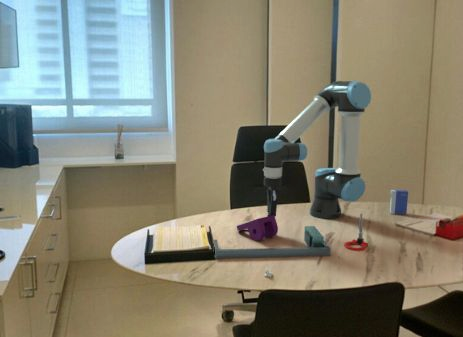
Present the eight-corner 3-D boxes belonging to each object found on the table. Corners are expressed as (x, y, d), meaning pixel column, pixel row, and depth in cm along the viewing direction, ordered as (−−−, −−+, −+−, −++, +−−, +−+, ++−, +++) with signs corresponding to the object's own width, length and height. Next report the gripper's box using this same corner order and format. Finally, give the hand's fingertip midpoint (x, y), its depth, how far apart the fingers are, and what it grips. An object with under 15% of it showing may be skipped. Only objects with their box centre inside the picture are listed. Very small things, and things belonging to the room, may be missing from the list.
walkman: (404, 212, 243) (406, 189, 241) (406, 214, 240) (408, 190, 238) (388, 212, 243) (390, 189, 241) (390, 214, 241) (392, 190, 238)
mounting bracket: (237, 246, 208) (263, 239, 195) (232, 227, 210) (257, 218, 196) (253, 242, 214) (280, 234, 200) (248, 223, 216) (274, 214, 202)
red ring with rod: (359, 253, 187) (370, 246, 194) (360, 221, 184) (372, 215, 191) (340, 248, 193) (351, 241, 199) (341, 217, 190) (352, 211, 197)
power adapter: (265, 274, 166) (265, 266, 165) (273, 275, 165) (273, 267, 164) (263, 278, 163) (263, 269, 162) (271, 279, 162) (271, 270, 161)
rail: (313, 235, 207) (314, 221, 206) (330, 256, 183) (330, 240, 182) (211, 237, 203) (211, 223, 201) (215, 258, 179) (215, 243, 178)
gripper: (261, 173, 209) (260, 226, 213) (266, 179, 196) (264, 235, 200) (278, 173, 209) (277, 225, 214) (284, 179, 196) (282, 235, 201)
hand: (271, 230), depth 207 cm, fingers closed
